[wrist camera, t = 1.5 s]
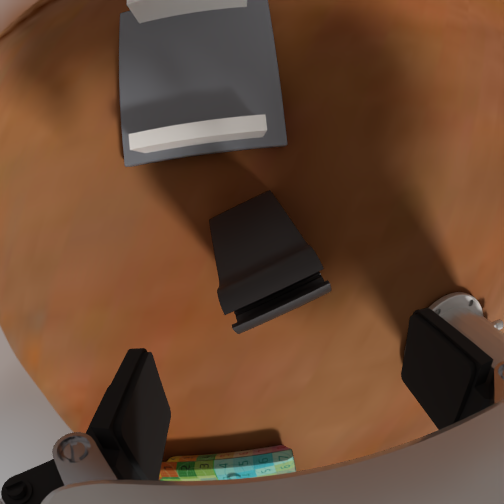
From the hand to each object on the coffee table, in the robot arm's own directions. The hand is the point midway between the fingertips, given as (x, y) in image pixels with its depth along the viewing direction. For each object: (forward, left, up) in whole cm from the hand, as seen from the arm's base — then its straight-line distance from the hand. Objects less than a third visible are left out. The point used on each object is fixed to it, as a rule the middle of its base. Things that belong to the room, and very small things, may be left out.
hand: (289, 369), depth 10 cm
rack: (+4, -17, -19) cm, 25 cm away
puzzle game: (+8, +32, -19) cm, 38 cm away
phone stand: (0, 0, -19) cm, 19 cm away
